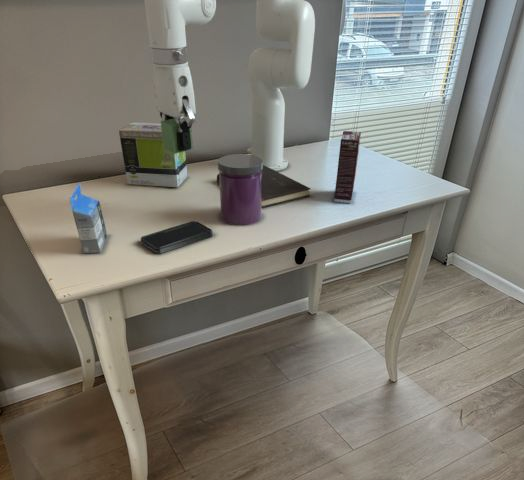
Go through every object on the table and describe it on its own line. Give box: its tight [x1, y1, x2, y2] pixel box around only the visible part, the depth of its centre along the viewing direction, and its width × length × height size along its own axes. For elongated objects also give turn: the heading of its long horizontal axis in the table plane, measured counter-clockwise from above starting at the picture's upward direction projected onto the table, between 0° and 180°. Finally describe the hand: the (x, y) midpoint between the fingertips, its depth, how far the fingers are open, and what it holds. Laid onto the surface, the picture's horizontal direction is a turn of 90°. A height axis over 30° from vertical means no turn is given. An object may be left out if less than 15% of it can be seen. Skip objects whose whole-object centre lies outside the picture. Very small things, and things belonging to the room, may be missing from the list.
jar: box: [217, 153, 263, 226], centre depth 118 cm, size 10×10×14 cm
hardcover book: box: [216, 165, 311, 209], centre depth 137 cm, size 16×23×2 cm
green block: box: [160, 118, 194, 153], centre depth 113 cm, size 5×5×6 cm
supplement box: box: [333, 130, 362, 204], centre depth 129 cm, size 9×5×16 cm, turn 168°
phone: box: [140, 220, 213, 254], centre depth 112 cm, size 8×1×15 cm
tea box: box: [118, 121, 188, 188], centre depth 137 cm, size 15×10×15 cm, turn 80°
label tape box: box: [69, 182, 108, 254], centre depth 106 cm, size 9×4×12 cm, turn 5°
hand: (178, 146), depth 115 cm, fingers closed on green block, 5 cm apart
